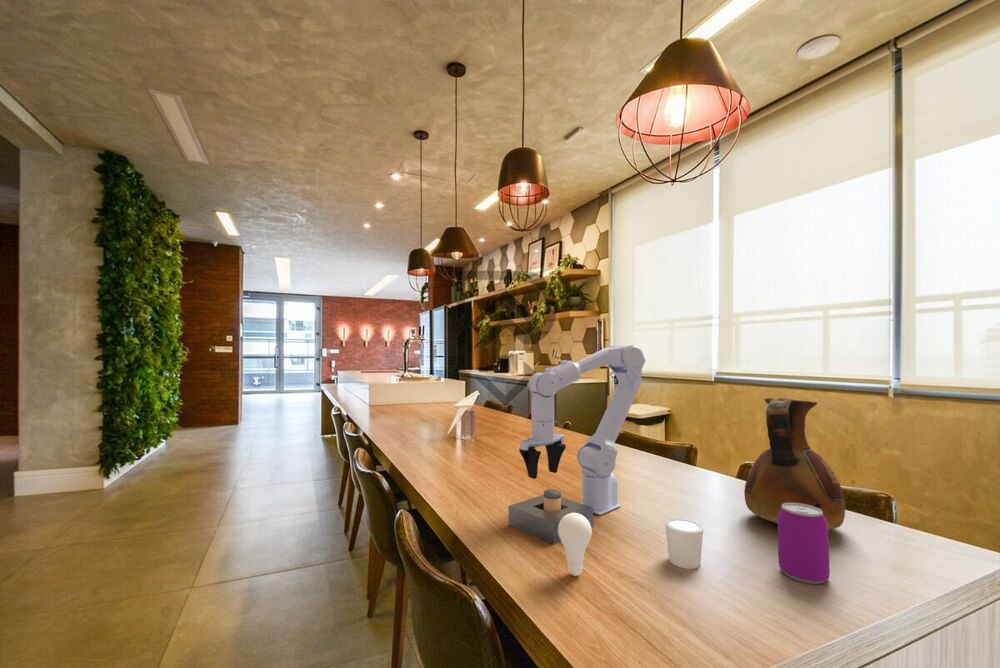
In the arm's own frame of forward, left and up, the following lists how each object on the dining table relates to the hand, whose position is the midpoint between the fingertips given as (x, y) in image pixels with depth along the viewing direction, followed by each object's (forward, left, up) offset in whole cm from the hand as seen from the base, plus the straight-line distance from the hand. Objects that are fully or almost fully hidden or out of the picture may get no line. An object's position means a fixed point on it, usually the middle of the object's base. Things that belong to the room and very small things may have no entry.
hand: (543, 474), depth 110 cm
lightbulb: (+18, +24, -10) cm, 32 cm away
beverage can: (-13, +52, -10) cm, 55 cm away
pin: (+4, +6, -10) cm, 12 cm away
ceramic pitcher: (-39, +44, -10) cm, 60 cm away
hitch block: (+4, +6, -10) cm, 12 cm away
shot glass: (-2, +35, -10) cm, 36 cm away
